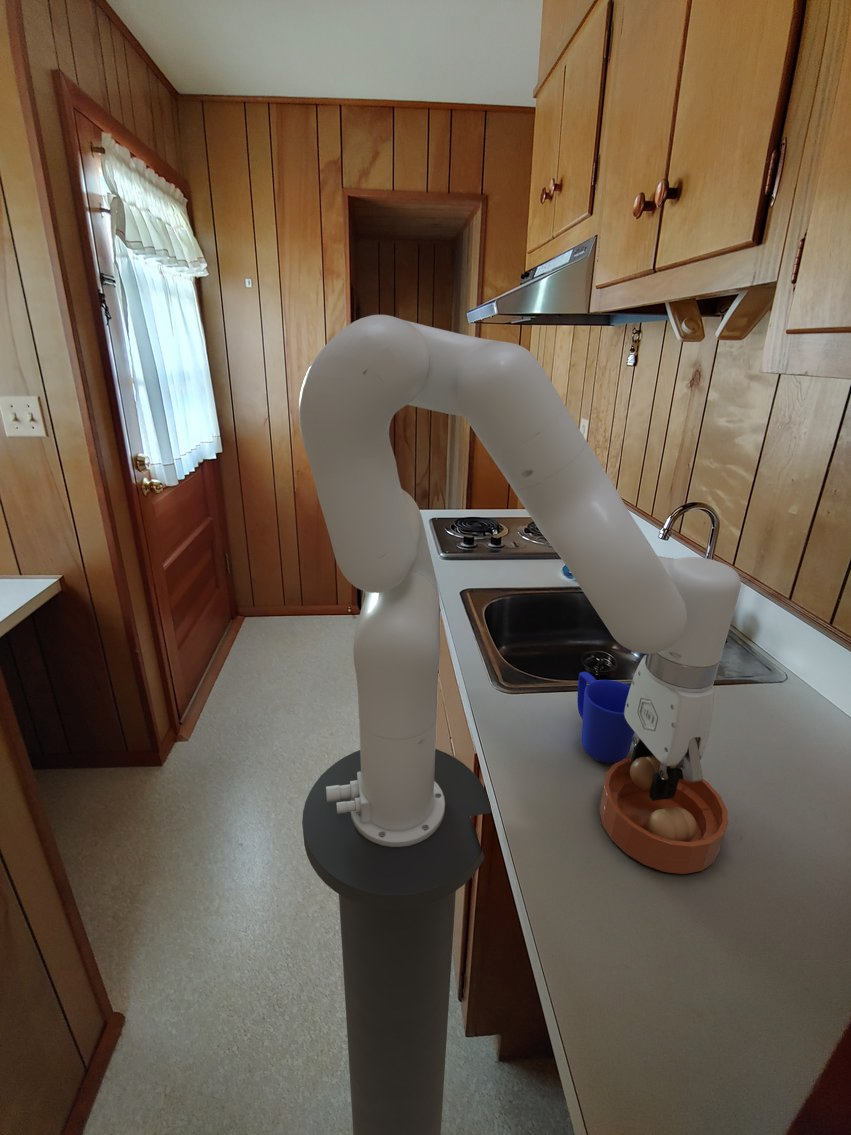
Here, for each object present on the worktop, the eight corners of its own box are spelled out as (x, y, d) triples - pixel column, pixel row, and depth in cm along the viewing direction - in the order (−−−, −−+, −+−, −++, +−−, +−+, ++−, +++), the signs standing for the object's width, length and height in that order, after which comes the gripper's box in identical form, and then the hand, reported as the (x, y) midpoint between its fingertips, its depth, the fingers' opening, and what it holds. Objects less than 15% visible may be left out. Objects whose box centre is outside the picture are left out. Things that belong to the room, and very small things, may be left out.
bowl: (637, 886, 63) (644, 855, 61) (580, 792, 75) (585, 763, 74) (744, 865, 66) (755, 835, 64) (672, 778, 78) (679, 750, 76)
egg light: (658, 855, 66) (661, 826, 65) (638, 832, 69) (641, 804, 68) (702, 847, 67) (706, 818, 66) (681, 825, 70) (684, 798, 70)
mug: (596, 713, 91) (605, 662, 87) (644, 763, 81) (656, 707, 77) (553, 722, 89) (560, 670, 85) (596, 775, 78) (606, 718, 74)
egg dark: (638, 799, 69) (644, 774, 67) (621, 775, 72) (626, 751, 71) (680, 792, 70) (687, 768, 68) (662, 770, 73) (668, 746, 72)
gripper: (614, 629, 70) (593, 743, 78) (699, 711, 55) (663, 842, 63) (666, 625, 72) (640, 737, 79) (763, 704, 57) (720, 832, 64)
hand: (650, 782), depth 71 cm, fingers closed on egg dark, 4 cm apart
